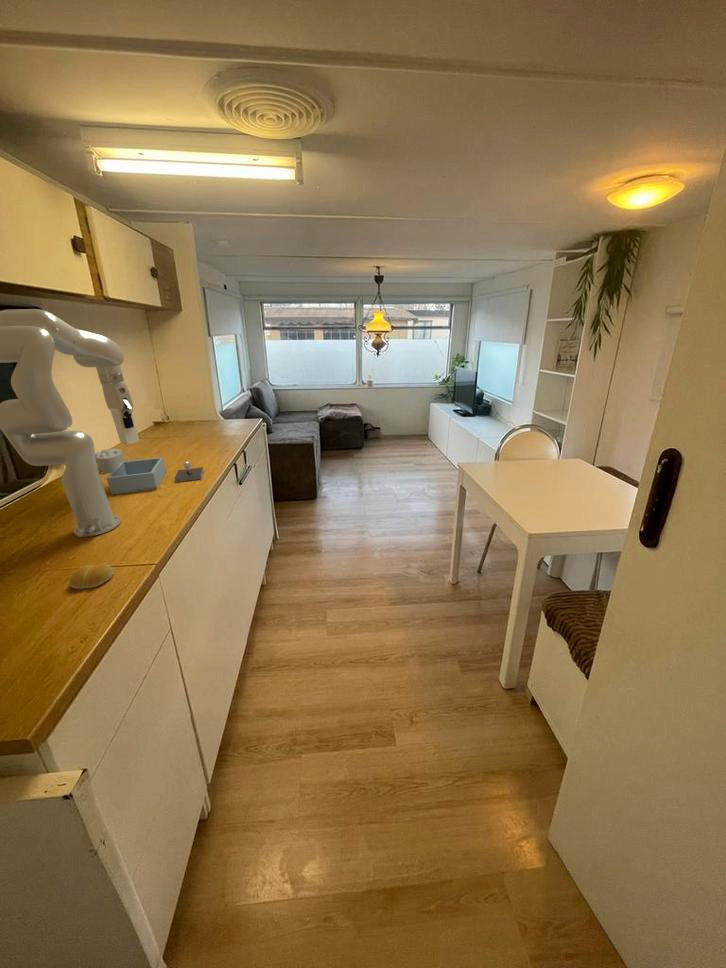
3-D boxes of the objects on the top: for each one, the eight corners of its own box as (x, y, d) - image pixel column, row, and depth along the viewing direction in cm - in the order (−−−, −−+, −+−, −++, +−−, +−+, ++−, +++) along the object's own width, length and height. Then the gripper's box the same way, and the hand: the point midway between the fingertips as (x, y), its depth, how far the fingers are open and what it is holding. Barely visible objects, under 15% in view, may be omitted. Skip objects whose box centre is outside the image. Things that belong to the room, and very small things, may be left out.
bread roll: (106, 587, 92) (101, 574, 90) (66, 592, 91) (60, 579, 89) (120, 567, 99) (115, 555, 98) (83, 572, 98) (77, 559, 96)
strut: (139, 441, 149) (129, 406, 144) (127, 444, 146) (117, 408, 140) (132, 439, 152) (122, 405, 146) (120, 443, 148) (109, 407, 142)
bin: (157, 489, 148) (152, 472, 145) (111, 495, 144) (106, 478, 141) (166, 472, 166) (162, 457, 163) (126, 477, 162) (121, 461, 159)
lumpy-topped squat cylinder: (126, 462, 180) (121, 445, 177) (124, 471, 169) (119, 452, 166) (101, 466, 176) (96, 449, 173) (97, 475, 165) (91, 456, 162)
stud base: (201, 479, 157) (198, 463, 154) (175, 482, 154) (171, 466, 151) (203, 471, 165) (200, 456, 163) (179, 474, 163) (175, 459, 160)
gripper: (135, 378, 138) (147, 426, 145) (109, 376, 146) (122, 422, 153) (114, 381, 132) (128, 431, 139) (88, 379, 140) (103, 427, 147)
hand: (125, 426), depth 146 cm, fingers closed on strut, 4 cm apart
